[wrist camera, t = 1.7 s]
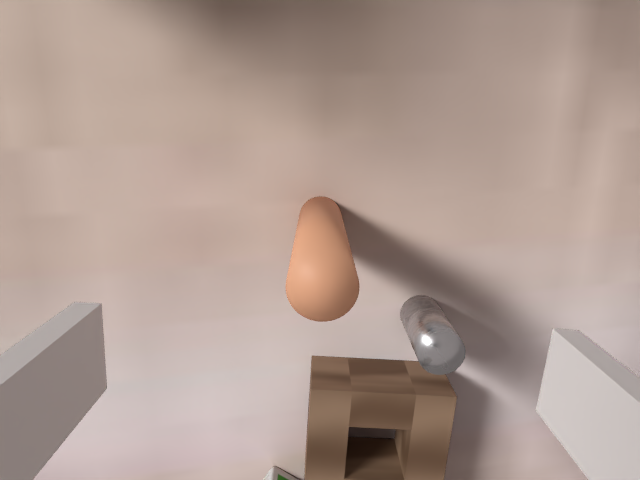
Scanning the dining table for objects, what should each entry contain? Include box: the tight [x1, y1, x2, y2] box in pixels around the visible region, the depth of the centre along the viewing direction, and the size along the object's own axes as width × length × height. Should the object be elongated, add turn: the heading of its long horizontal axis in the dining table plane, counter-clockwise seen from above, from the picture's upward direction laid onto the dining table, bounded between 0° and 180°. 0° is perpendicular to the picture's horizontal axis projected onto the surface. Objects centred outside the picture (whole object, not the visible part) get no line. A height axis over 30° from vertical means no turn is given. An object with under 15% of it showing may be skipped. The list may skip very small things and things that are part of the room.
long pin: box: [286, 197, 359, 321], centre depth 25 cm, size 3×3×14 cm
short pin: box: [400, 295, 465, 375], centre depth 31 cm, size 3×3×6 cm
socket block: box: [304, 356, 457, 480], centre depth 33 cm, size 10×10×4 cm
